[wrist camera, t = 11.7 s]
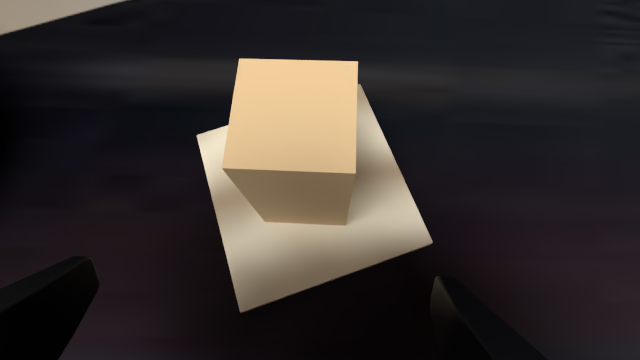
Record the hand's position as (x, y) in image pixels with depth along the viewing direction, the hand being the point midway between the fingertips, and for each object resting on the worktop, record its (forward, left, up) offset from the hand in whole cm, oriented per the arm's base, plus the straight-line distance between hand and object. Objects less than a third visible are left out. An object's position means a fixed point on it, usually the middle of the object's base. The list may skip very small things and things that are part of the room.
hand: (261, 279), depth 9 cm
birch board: (+6, -2, -13) cm, 14 cm away
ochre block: (+6, -2, -12) cm, 13 cm away
